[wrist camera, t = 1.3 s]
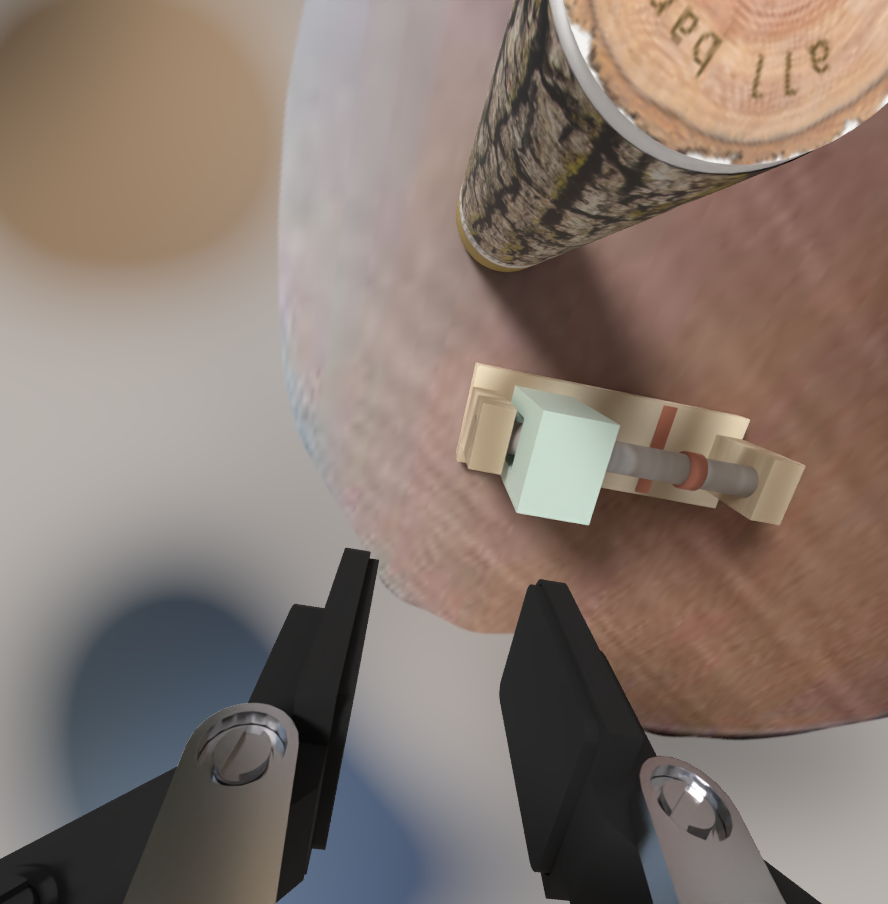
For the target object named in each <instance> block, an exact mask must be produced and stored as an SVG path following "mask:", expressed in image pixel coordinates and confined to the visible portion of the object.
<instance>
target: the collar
mask: <svg viewBox="0 0 888 904" xmlns="http://www.w3.org/2000/svg"><path fill="white" fill-rule="evenodd" d="M511 403H512V404H513V405H514V407H515V408H516V409H517V413H516V417H515V422H520V423H523V426H522V430H521V434H520V437H519V441H518V445H517V449H516V453H515V455H513V454H508V453H506V457H505V461H504V465H503V469H502V473H501V475H500V476H501V478H502V481H503V483H504V485H505V488H506V490H507V492H508V494H509V497H510V499H511V501H512V503H513V506H514V508H515V510H516V513H520V514H526V515H532V516H538V517H543V518H549V519H555V520H561V521H566V522H572V523H578V524H584V525H589V523H590V520H591V517H592V514H593V511H594V507H595V504H596V501H597V498H598V495H599V492H600V488H601V485H602V482H603V479H604V476H605V472H606V469H607V466H608V463H609V460H610V457H611V453H612V450H613V447H614V444H615V441H616V437H617V434H618V431H619V428H620V425H619V424H617V423H616V422H614V421H612V420H611V419H609V418H607V417H606V416H604V415H602V414H601V413H599V412H597V411H596V410H594V409H592V408H591V407H589V406H587V405H586V404H584V403H583V402H581V401H579V400H578V399H576V398H574V397H571V396H566V395H561V394H556V393H551V392H546V391H541V390H536V389H531V388H526V387H521V386H516V385H515V388H514V392H513V396H512V400H511Z"/></svg>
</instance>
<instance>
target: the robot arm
mask: <svg viewBox="0 0 888 904" xmlns="http://www.w3.org/2000/svg"><path fill="white" fill-rule="evenodd" d="M378 563H379V560H376V559H370V552H369V551H363V550H357V549H351V548H345V550H344V553H343V556H342V559H341V562H340V565H339V568H338V570H337V573H336V576H335V579H334V582H333V585H332V588H331V591H330V594H329V597H328V600H327V603H326V605H325V608H319V607H312V606H306V605H298V604H294V605H293V606H292V608H291V609H290V612H289V614H288V616H287V618H286V620H285V623H284V625H283V627H282V629H281V631H280V634H279V636H278V638H277V640H276V643H275V644H274V647H273V649H272V651H271V653H270V655H269V658H268V660H267V662H266V664H265V667H264V669H263V671H262V673H261V675H260V678H259V680H258V682H257V684H256V686H255V689H254V691H253V693H252V695H251V697H250V700H249V702H248V703H246V704H238V705H234V706H232V707H228V708H225V709H222V710H221V711H219V712H217V713H215V714H214V715H212V716H210V717H208V718H207V719H206V720H205V721H204V722H203V723H202V724H201V725H200V726H199V727H198V728H196V729H195V730H194V732H193V734H192V736H191V737H190V739H189V741H188V742H187V744H186V746H185V749H184V751H183V754H182V756H181V759H180V761H179V764H178V766H177V767H175V768H174V769H172V770H170V771H168V772H166V773H164V774H162V775H160V776H158V777H156V778H154V779H152V780H150V781H149V782H147V783H145V784H143V785H141V786H139V787H137V788H135V789H133V790H131V791H130V792H128V793H126V794H124V795H122V796H120V797H118V798H116V799H114V800H112V801H110V802H108V803H106V804H105V805H103V806H101V807H99V808H97V809H95V810H93V811H91V812H89V813H87V814H86V815H84V816H82V817H80V818H78V819H76V820H74V821H72V822H70V823H68V824H66V825H64V826H63V827H61V828H59V829H57V830H55V831H53V832H51V833H49V834H47V835H45V836H44V837H42V838H40V839H38V840H36V841H34V842H32V843H30V844H28V845H26V846H24V847H22V848H21V849H19V850H17V851H15V852H13V853H11V854H9V855H7V856H5V857H3V858H1V859H0V904H276V902H278V901H279V900H280V899H281V898H282V897H283V896H285V895H286V894H287V893H288V892H290V891H291V890H292V889H293V888H294V887H296V886H297V885H298V884H299V883H300V882H302V881H303V878H304V874H307V869H308V864H309V859H310V855H311V850H312V848H313V849H322V850H325V848H326V843H327V837H328V832H329V826H330V822H331V816H332V810H333V806H334V800H335V795H336V790H337V784H338V779H339V774H340V768H341V763H342V758H343V752H344V747H345V742H346V736H347V731H348V726H349V721H350V715H351V710H352V704H353V700H354V694H355V689H356V684H357V678H358V673H359V667H360V662H361V657H362V651H363V646H364V640H365V634H366V629H367V624H368V618H369V613H370V607H371V602H372V596H373V590H374V585H375V580H376V574H377V569H378ZM499 696H500V704H501V710H502V715H503V720H504V726H505V731H506V736H507V742H508V747H509V753H510V758H511V764H512V769H513V774H514V779H515V785H516V791H517V796H518V801H519V807H520V811H521V817H522V823H523V828H524V834H525V839H526V844H527V850H528V855H529V860H530V864H531V867H532V869H533V871H534V872H541V876H542V881H543V886H544V891H545V896H546V898H547V899H557V900H567V901H570V904H821V903H820V902H819V901H817V900H816V899H815V898H814V897H812V896H811V895H810V894H808V893H807V892H806V891H804V890H803V889H802V888H800V887H799V886H798V885H796V884H795V883H794V882H792V881H791V880H790V879H789V878H787V877H786V876H785V875H783V874H782V873H781V872H779V871H778V870H777V869H775V868H774V867H773V866H771V865H770V864H769V863H767V862H766V861H765V860H764V859H763V858H762V857H761V855H760V852H759V851H758V849H757V847H756V845H755V843H754V841H753V839H752V837H751V835H750V833H749V831H748V829H747V827H746V825H745V823H744V822H743V819H742V817H741V815H740V813H739V812H738V810H737V808H736V807H735V805H734V804H733V802H732V801H731V799H730V798H729V796H728V795H727V794H726V793H725V792H724V791H723V790H722V789H721V788H720V786H719V785H718V784H717V783H716V782H714V781H713V780H712V779H711V778H709V777H708V776H707V775H706V774H704V773H703V772H702V771H701V770H699V769H697V768H695V767H694V766H692V765H690V764H688V763H687V762H684V761H681V760H679V759H676V758H673V757H666V756H656V754H655V752H654V750H653V748H652V746H651V744H650V742H649V740H648V738H647V736H646V734H645V732H644V730H643V728H642V726H641V724H640V722H639V720H638V718H637V717H636V715H635V713H634V711H633V709H632V707H631V705H630V703H629V701H628V699H627V697H626V695H625V693H624V691H623V689H622V687H621V685H620V683H619V681H618V680H617V678H616V676H615V674H614V672H613V670H612V668H611V666H610V664H609V662H608V660H607V658H606V656H605V655H604V654H603V652H602V651H600V649H599V648H598V646H597V644H596V642H595V640H594V638H593V636H592V634H591V632H590V630H589V628H588V626H587V624H586V622H585V620H584V618H583V616H582V614H581V612H580V610H579V608H578V606H577V604H576V602H575V600H574V598H573V596H572V594H571V592H570V590H569V588H568V586H567V585H566V584H565V583H561V582H555V581H548V580H542V579H540V580H538V582H537V584H536V585H532V584H531V585H529V587H528V589H527V592H526V595H525V599H524V602H523V606H522V609H521V613H520V616H519V620H518V623H517V627H516V630H515V634H514V637H513V641H512V645H511V648H510V652H509V655H508V658H507V662H506V665H505V669H504V672H503V676H502V679H501V683H500V692H499Z"/></svg>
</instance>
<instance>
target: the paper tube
mask: <svg viewBox="0 0 888 904" xmlns="http://www.w3.org/2000/svg"><path fill="white" fill-rule="evenodd" d="M886 103H888V0H514V2H513V6H512V9H511V13H510V16H509V20H508V24H507V27H506V31H505V34H504V38H503V41H502V45H501V48H500V52H499V56H498V59H497V63H496V66H495V70H494V73H493V77H492V80H491V84H490V87H489V91H488V95H487V98H486V102H485V105H484V109H483V112H482V116H481V119H480V123H479V127H478V130H477V134H476V137H475V141H474V144H473V148H472V151H471V155H470V158H469V162H468V166H467V169H466V173H465V176H464V181H463V183H462V187H461V192H460V196H459V199H458V204H457V211H456V219H457V227H458V232H459V235H460V238H461V240H462V243H463V244H464V246H465V248H466V249H467V251H468V252H469V254H470V255H471V256H472V257H473V258H474V259H475V260H476V261H478V262H479V263H480V264H482V265H483V266H485V267H487V268H489V269H492V270H496V271H501V272H514V271H519V270H523V269H526V268H528V267H531V266H533V265H536V264H539V263H541V262H544V261H546V260H549V259H551V258H554V257H556V256H559V255H561V254H564V253H566V252H569V251H571V250H574V249H576V248H578V247H581V246H583V245H586V244H588V243H591V242H593V241H596V240H598V239H601V238H603V237H606V236H608V235H611V234H613V233H615V232H618V231H620V230H623V229H625V228H628V227H630V226H633V225H635V224H638V223H640V222H643V221H645V220H647V219H650V218H652V217H655V216H657V215H660V214H662V213H665V212H667V211H670V210H672V209H675V208H677V207H680V206H682V205H684V204H687V203H689V202H692V201H694V200H697V199H699V198H702V197H704V196H707V195H709V194H712V193H714V192H717V191H719V190H721V189H724V188H726V187H729V186H731V185H734V184H736V183H739V182H741V181H744V180H746V179H749V178H751V177H753V176H756V175H758V174H761V173H763V172H766V171H768V170H771V169H773V168H776V167H778V166H781V165H783V164H786V163H788V162H790V161H793V160H795V159H797V158H799V157H801V156H803V155H806V154H808V153H810V152H812V151H813V150H815V149H817V148H819V147H821V146H823V145H826V144H828V143H830V142H832V141H834V140H836V139H837V138H839V137H841V136H842V135H844V134H846V133H848V132H849V131H851V130H853V129H854V128H856V127H857V126H858V125H860V124H861V123H863V122H864V121H865V120H867V119H868V118H870V117H871V116H872V115H874V114H875V113H876V112H877V111H878V110H879V109H881V108H882V107H883V106H884V105H885V104H886Z"/></svg>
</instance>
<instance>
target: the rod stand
mask: <svg viewBox="0 0 888 904" xmlns="http://www.w3.org/2000/svg"><path fill="white" fill-rule="evenodd" d="M515 385H516V386H521V387H526V388H531V389H536V390H541V391H546V392H551V393H556V394H561V395H566V396H571V397H574V398H576V399H578V400H579V401H581V402H583V403H584V404H586V405H587V406H589V407H591V408H592V409H594V410H596V411H597V412H599V413H601V414H602V415H604V416H606V417H607V418H609V419H611V420H612V421H614V422H616V423H617V424H619V425H620V428H619V431H618V434H617V437H616V441H615V444H614V447H613V450H612V453H611V457H610V460H609V463H608V466H607V469H606V472H605V476H604V479H603V482H602V485H601V488H606V489H611V490H617V491H622V492H628V493H633V494H639V495H644V496H650V497H655V498H661V499H666V500H672V501H677V502H683V503H688V504H694V505H699V506H705V507H710V508H716V505H717V503H718V500H720V501H722V502H723V503H725V504H727V505H728V506H730V507H731V508H733V509H734V510H736V511H737V512H739V513H740V514H742V515H743V516H745V517H746V518H748V519H749V520H753V521H759V522H764V523H770V524H775V525H780V523H781V521H782V519H783V516H784V514H785V512H786V510H787V507H788V505H789V503H790V500H791V498H792V496H793V494H794V491H795V489H796V487H797V484H798V482H799V480H800V478H801V475H802V473H803V471H804V468H805V465H803V464H800V463H798V462H796V461H793V460H791V459H788V458H786V457H784V456H781V455H779V454H776V453H774V452H771V451H769V450H767V449H764V448H762V447H759V446H757V445H755V444H752V443H750V442H747V441H745V440H742V439H743V437H744V434H745V432H746V429H747V426H748V424H749V421H750V419H747V418H744V417H741V416H738V415H734V414H729V413H724V412H719V411H714V410H709V409H704V408H699V407H695V406H690V405H685V404H680V403H675V402H670V401H665V400H660V399H655V398H650V397H645V396H640V395H635V394H630V393H625V392H620V391H615V390H610V389H605V388H600V387H595V386H590V385H585V384H581V383H576V382H571V381H566V380H561V379H556V378H551V377H546V376H541V375H536V374H531V373H526V372H521V371H516V370H511V369H506V368H501V367H496V366H491V365H486V364H481V363H476V364H475V368H474V373H473V377H472V382H471V387H470V391H469V396H468V400H467V405H466V410H465V414H464V419H463V423H462V428H461V433H460V437H459V442H458V446H457V451H456V460H457V461H458V462H463V463H467V467H468V469H471V470H477V471H482V472H488V473H494V474H499V475H501V473H502V469H503V465H504V461H505V457H506V453H508V454H513V455H515V453H516V449H517V445H518V441H519V437H520V434H521V430H522V426H523V423H520V422H515V417H516V413H517V409H516V408H515V407H514V405H513V404H512V403H511V400H512V396H513V392H514V388H515Z"/></svg>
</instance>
